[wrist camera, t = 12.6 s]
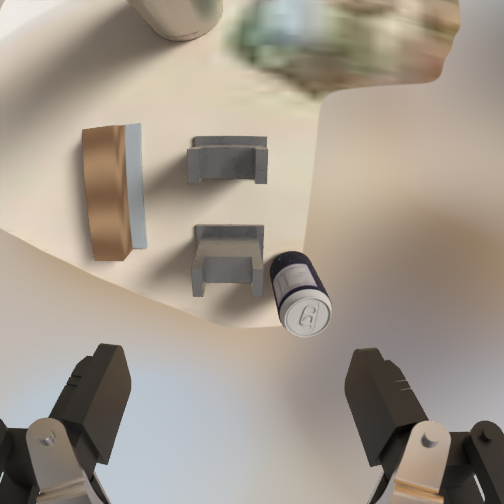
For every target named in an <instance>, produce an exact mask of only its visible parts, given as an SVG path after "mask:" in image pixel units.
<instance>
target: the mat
mask: <svg viewBox="0 0 504 504" xmlns="http://www.w3.org/2000/svg"><path fill="white" fill-rule="evenodd" d="M120 126H125V146H126V173H127V190H128V204H129V216H130V227H131V236H132V245H133V248H147V237H146V226H145V213H144V198H143V180H142V153H141V124H129V125H120Z"/></svg>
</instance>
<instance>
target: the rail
mask: <svg viewBox="0 0 504 504" xmlns="http://www.w3.org/2000/svg"><path fill="white" fill-rule="evenodd" d="M82 140H83V164H84V179H85V191H86V201H87V210H88V219H89V227H90V234H91V241H92V247H93V253H94V259H95V261H124V259H125V258H126V257H127V256H128V254H129V253H130V252H131V251H132V249H133V245H132V236H131V227H130V216H129V204H128V190H127V173H126V146H125V126H114V125H113V126H105V127H97V128H90V129H84V130H82Z"/></svg>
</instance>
